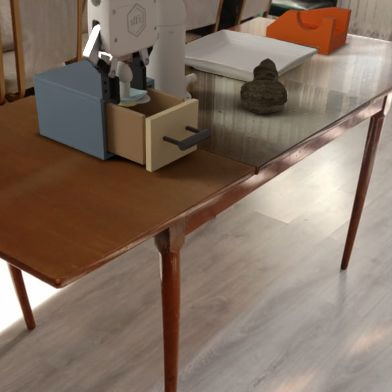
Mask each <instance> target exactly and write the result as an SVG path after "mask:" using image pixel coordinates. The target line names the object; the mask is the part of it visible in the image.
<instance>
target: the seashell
mask: <svg viewBox="0 0 392 392" xmlns="http://www.w3.org/2000/svg"><path fill="white" fill-rule="evenodd" d="M253 75H254V77H253V78H254V79H253V81H250V82H247V81H245V83H243V84H242V85H241V87H240V91H239V97H240V98H239V100H240V102H241V105H242V106H243V107H244V108H246V109H247V110H248V111H250V112H252V113H254V114H258V115H263V114H271V113H274V112H275V113H276V112H279V111H280V110H281V109H282V108H283V107H284V106H285V105H286V103H287V102H288V90H287V88H286V87H285V85H284V84H283V83H282V82H280V80H279V77H280V76H278V71H277V69H276V66H275V63H274V62H273V61H272V60H270V59H269V58H267V59H265V60H263V61H262V62H261V63H260V65H258V66H256V67H255V68H254V70H253Z"/></svg>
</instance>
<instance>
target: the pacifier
mask: <svg viewBox="0 0 392 392" xmlns="http://www.w3.org/2000/svg"><path fill="white" fill-rule="evenodd" d="M116 76H118V77H119V81H120V104H118V105H121V106H134V105H136V104H142V103H146V102H149V101H150V97H149V96H148V95H147V91H144V90H137V89H134V88H130V82H131V80H132V71H131V69H130V67H129V66H128V64H127V63H126V62H125V61H121V60H118V64H117V71H116ZM101 88H102V87H101ZM141 98H142V99H141Z"/></svg>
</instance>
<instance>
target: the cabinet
mask: <svg viewBox="0 0 392 392" xmlns="http://www.w3.org/2000/svg"><path fill="white" fill-rule="evenodd" d="M32 83H33V89H34V96H35V104H36V111H37V120H38V128H39V134H40V135H41V136H43V137H46V138H47V139H48V138H49V139H51V140H54V141H56V142H58V143H61V144H64V145H66V146H68V147H71V148H73V149H75V150H78V151H81V152H82V153H86V154H88V155H91V156H93V157H96V158H98V159H101V160H102V161H106V160H108V159H110V158H113V157H115V156H118V155H117V154H114V153H112V152H109V151H107V144H106V127H105V110H104V102H107V101H104V100H103V99H102V88H101V74H99V73H97V70H96V69H95V68H94V67H93V66H92V64H91V63H89V62H88V61H87V60H86V59H82V60H78V61H75V62H72V63H70V64H66V65H62V66H59V67H56V68H53V69H50V70H47V71H43V72H40V73H37V74H33V75H32ZM154 83H155V80H154V79H152V78H149V77H147V87H150V88H153V89H155V84H154Z"/></svg>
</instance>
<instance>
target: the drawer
mask: <svg viewBox="0 0 392 392" xmlns="http://www.w3.org/2000/svg"><path fill="white" fill-rule="evenodd" d="M147 95H148V96H149V97H150V101H149V102H146V103H142V104H136V105H134V106H121V105H115V104H112V103H109V102H104V110H105V127H106V144H107V151H109V152H112V153H114V154H117V155H116V156H120V157H122V158H124V159H127V160H130V161H131V162H135V163H137V164H140V165H141V166H143V165H145V170H146V171H148V172H150V173H153V172H155V171H157V170H159V169H161V168H162V167H165V166H167V165H169V164H170V163H173V162H175V161H178V160H179V159H181V158H182V157H184V156H186V155H189V154H190V153H192V152H194V151H197V149H198V145H199V144H200V143H201V144H202V143H203V142H205V141H207V140H209V139H211V137H212V131H211V130H210V129H209V128H205V129H203V130H202V129H199V128H198V125H199V102H200V101H199V99H196V98H194V97H193V98H191V100H188V101H186V102H185V99H184V98H181V97H178V96H175V95H172V94H169V93H166V92H162V91H159V90H156V89H153V88H150V87H147ZM141 99H142V98H141Z"/></svg>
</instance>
